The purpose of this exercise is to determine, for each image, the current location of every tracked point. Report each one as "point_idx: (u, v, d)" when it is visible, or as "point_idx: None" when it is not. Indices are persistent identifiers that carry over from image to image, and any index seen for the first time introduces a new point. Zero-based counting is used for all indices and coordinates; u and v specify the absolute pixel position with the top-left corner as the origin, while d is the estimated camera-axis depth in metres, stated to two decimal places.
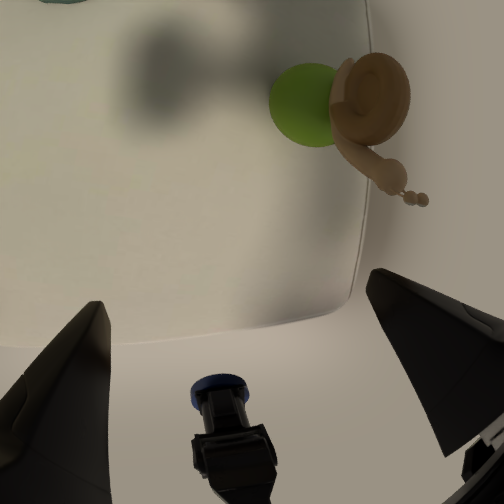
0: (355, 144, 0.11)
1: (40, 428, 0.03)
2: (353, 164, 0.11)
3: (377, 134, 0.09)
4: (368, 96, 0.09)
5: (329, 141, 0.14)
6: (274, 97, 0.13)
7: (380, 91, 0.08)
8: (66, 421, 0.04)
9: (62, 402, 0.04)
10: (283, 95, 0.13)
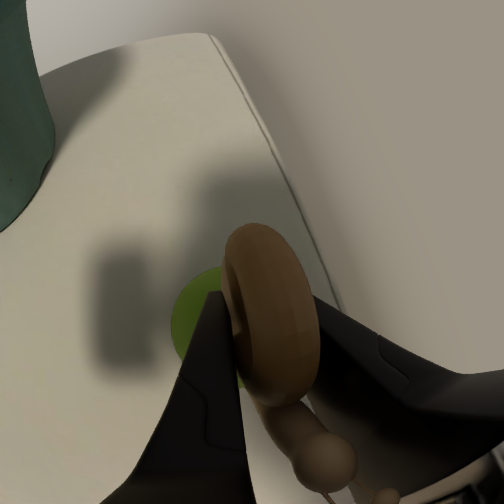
0: (268, 404, 0.06)
1: (241, 428, 0.04)
2: None
3: (278, 399, 0.05)
4: None
5: None
6: (173, 342, 0.11)
7: (248, 319, 0.05)
8: None
9: None
10: (177, 339, 0.10)
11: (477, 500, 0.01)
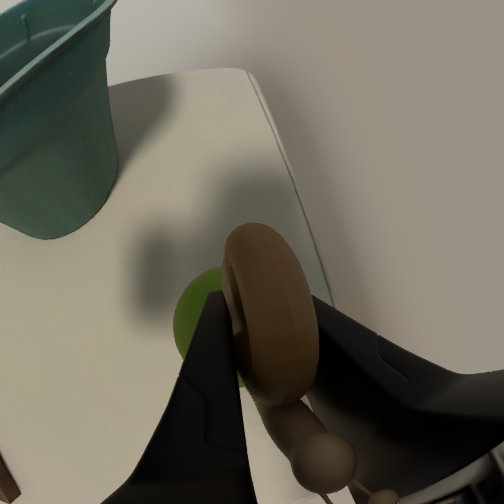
0: None
1: (242, 428, 0.04)
2: None
3: (277, 399, 0.05)
4: None
5: None
6: None
7: None
8: None
9: None
10: (178, 339, 0.10)
11: (477, 500, 0.01)
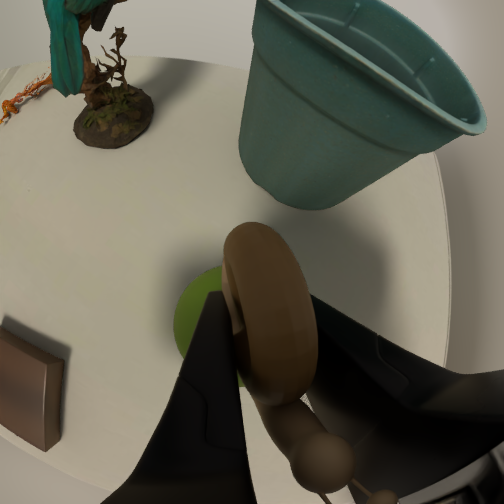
0: (268, 404, 0.06)
1: (242, 428, 0.04)
2: None
3: (276, 398, 0.05)
4: None
5: None
6: None
7: (245, 318, 0.05)
8: None
9: None
10: (179, 339, 0.10)
11: (477, 500, 0.01)
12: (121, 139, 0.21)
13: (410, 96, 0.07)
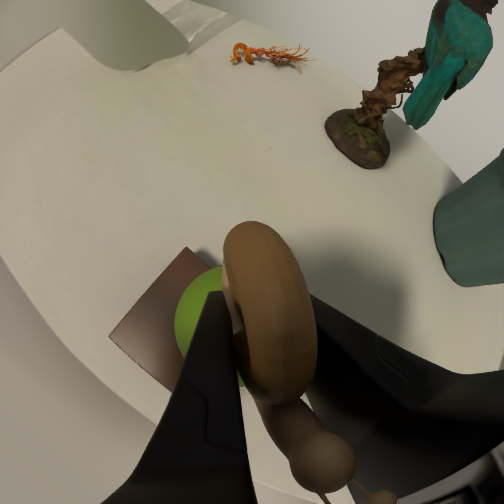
0: (268, 403, 0.06)
1: (242, 428, 0.04)
2: None
3: (276, 398, 0.05)
4: None
5: None
6: (177, 341, 0.11)
7: (244, 317, 0.05)
8: None
9: None
10: (180, 338, 0.10)
11: (477, 500, 0.01)
12: (369, 163, 0.26)
13: None
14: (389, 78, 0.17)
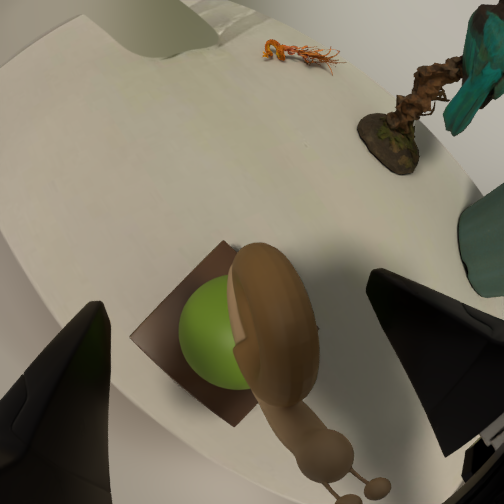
0: (273, 405, 0.07)
1: (40, 428, 0.03)
2: None
3: (283, 400, 0.06)
4: None
5: None
6: (181, 348, 0.11)
7: (256, 331, 0.06)
8: (66, 421, 0.04)
9: (62, 402, 0.04)
10: (185, 345, 0.10)
11: None
12: (401, 168, 0.24)
13: None
14: (426, 84, 0.16)
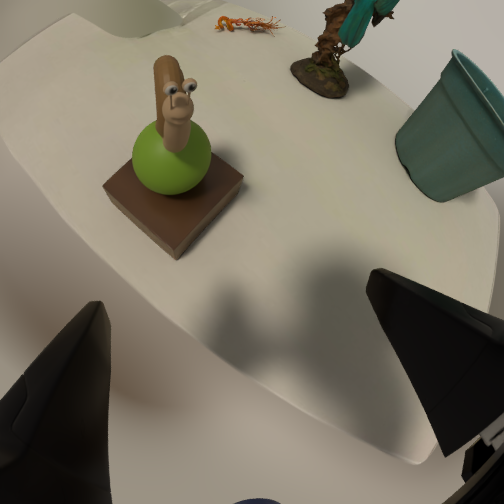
0: None
1: (40, 428, 0.03)
2: (167, 139, 0.11)
3: (163, 99, 0.10)
4: None
5: (184, 167, 0.15)
6: (132, 162, 0.16)
7: None
8: (66, 421, 0.04)
9: (62, 402, 0.04)
10: (133, 153, 0.15)
11: None
12: (328, 92, 0.29)
13: None
14: (332, 21, 0.21)
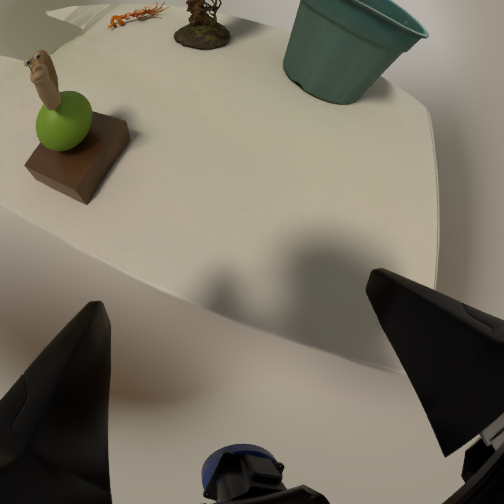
0: None
1: (40, 428, 0.03)
2: (41, 98, 0.11)
3: None
4: None
5: (67, 120, 0.15)
6: (37, 134, 0.15)
7: None
8: (66, 421, 0.04)
9: (62, 402, 0.04)
10: (36, 127, 0.15)
11: None
12: (209, 44, 0.29)
13: (363, 4, 0.15)
14: None
